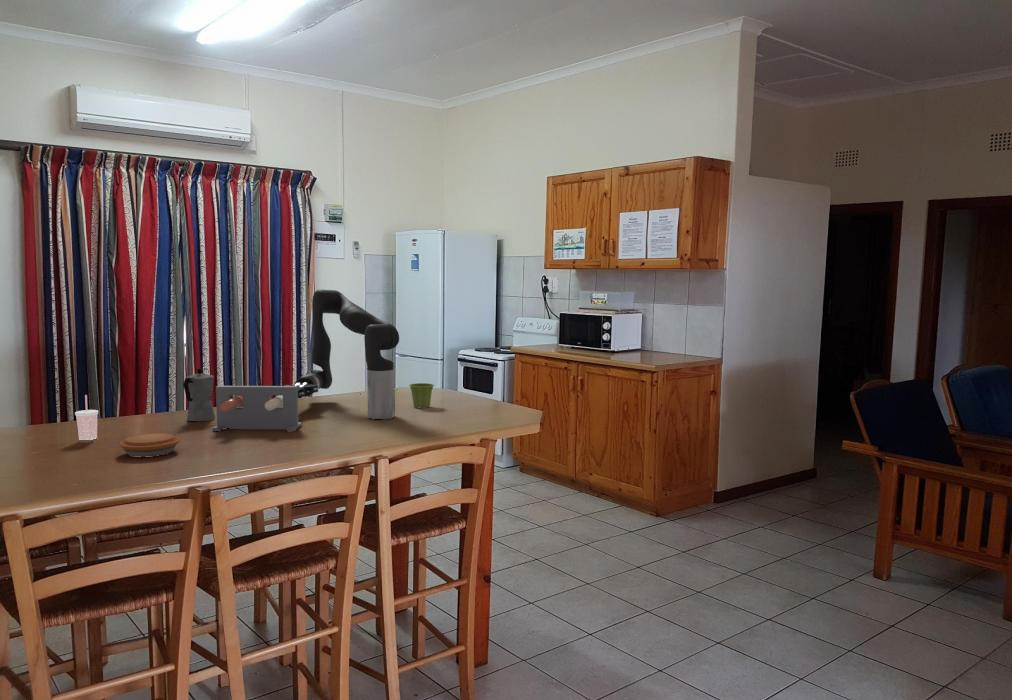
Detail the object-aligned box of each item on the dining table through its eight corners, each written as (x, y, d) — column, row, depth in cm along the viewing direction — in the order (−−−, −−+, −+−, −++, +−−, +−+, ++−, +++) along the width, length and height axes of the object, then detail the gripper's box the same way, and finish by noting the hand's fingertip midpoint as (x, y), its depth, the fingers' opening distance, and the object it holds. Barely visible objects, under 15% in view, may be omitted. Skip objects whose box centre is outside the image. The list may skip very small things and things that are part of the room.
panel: (301, 425, 247) (300, 384, 246) (293, 432, 237) (292, 388, 236) (224, 425, 247) (222, 384, 246) (212, 431, 237) (210, 388, 236)
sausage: (249, 406, 246) (248, 392, 245) (232, 415, 231) (231, 399, 230) (234, 406, 246) (234, 392, 245) (217, 415, 231) (216, 399, 230)
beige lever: (291, 405, 249) (290, 391, 248) (277, 413, 234) (276, 398, 233) (276, 405, 249) (276, 391, 248) (261, 413, 234) (261, 398, 233)
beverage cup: (73, 443, 220) (70, 396, 218) (81, 439, 226) (78, 393, 225) (95, 442, 221) (92, 396, 219) (102, 438, 227) (100, 393, 226)
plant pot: (409, 405, 288) (409, 383, 287) (433, 404, 289) (433, 382, 289) (409, 409, 279) (409, 386, 278) (434, 409, 280) (434, 386, 279)
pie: (109, 460, 200) (108, 442, 200) (134, 447, 216) (133, 430, 215) (168, 460, 201) (167, 442, 201) (188, 447, 217) (187, 430, 216)
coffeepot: (200, 415, 265) (198, 365, 263) (224, 416, 263) (222, 366, 261) (173, 423, 250) (171, 371, 248) (198, 425, 248) (196, 371, 246)
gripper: (289, 375, 278) (275, 381, 261) (324, 375, 278) (312, 381, 261) (290, 394, 279) (275, 402, 261) (325, 395, 279) (313, 402, 261)
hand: (294, 392), depth 261 cm, fingers closed
